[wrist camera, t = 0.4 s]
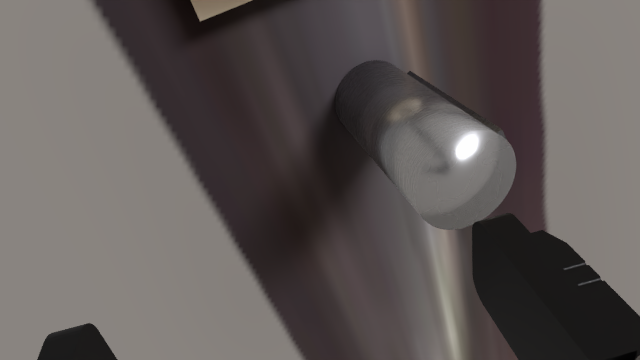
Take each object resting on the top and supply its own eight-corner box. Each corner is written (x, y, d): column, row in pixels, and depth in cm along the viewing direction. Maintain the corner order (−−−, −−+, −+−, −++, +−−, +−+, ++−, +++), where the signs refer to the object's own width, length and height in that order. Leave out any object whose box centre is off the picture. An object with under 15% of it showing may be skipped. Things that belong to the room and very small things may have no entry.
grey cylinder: (359, 148, 34) (442, 247, 24) (320, 93, 31) (396, 179, 21) (422, 101, 34) (534, 182, 24) (389, 41, 31) (499, 103, 21)
